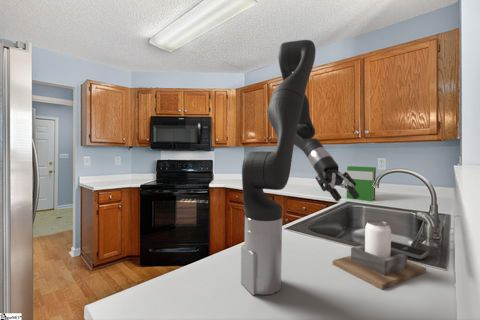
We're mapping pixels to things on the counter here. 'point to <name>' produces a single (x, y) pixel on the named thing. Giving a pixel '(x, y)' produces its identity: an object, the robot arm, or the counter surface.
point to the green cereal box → (363, 182)
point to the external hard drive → (409, 251)
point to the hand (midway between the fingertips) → (348, 198)
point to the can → (378, 238)
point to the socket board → (379, 267)
